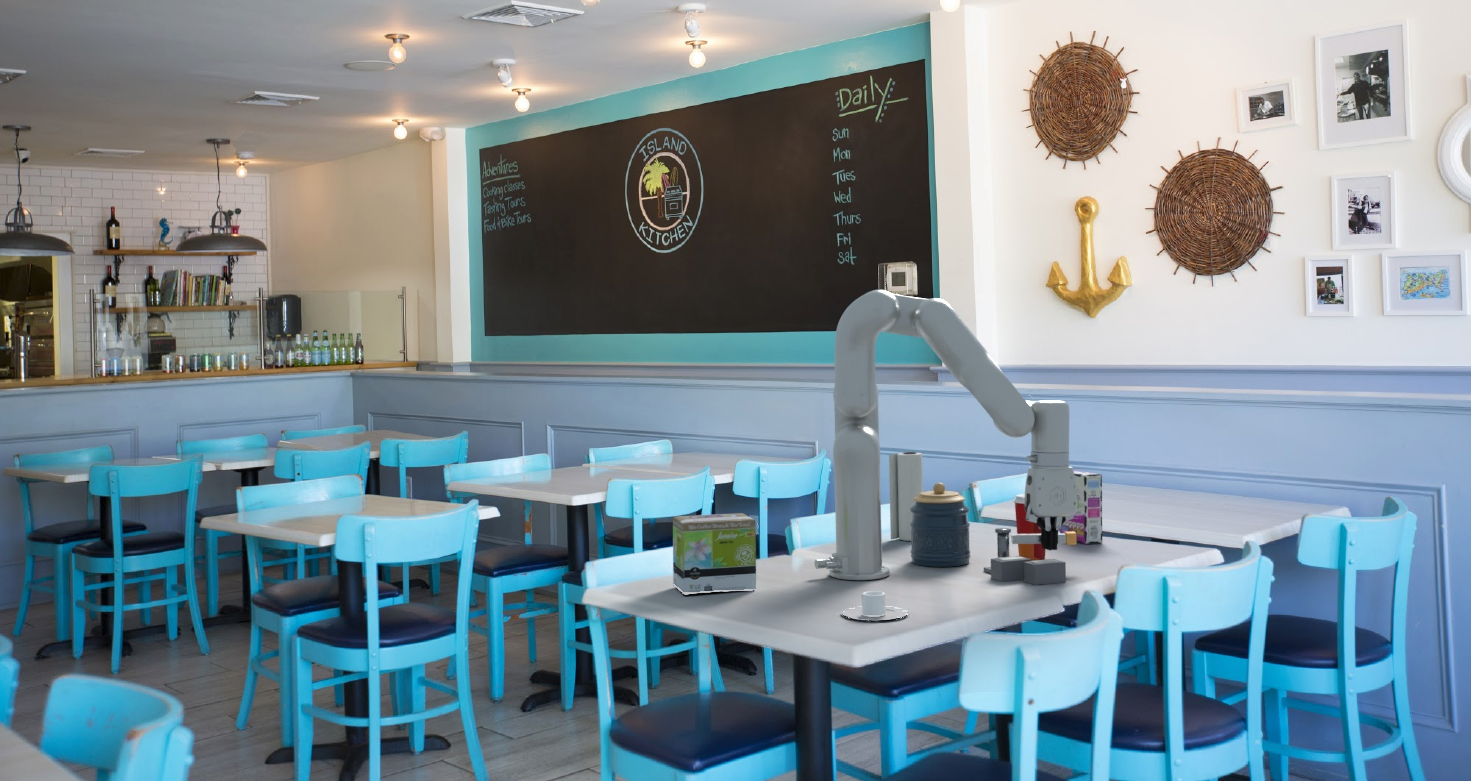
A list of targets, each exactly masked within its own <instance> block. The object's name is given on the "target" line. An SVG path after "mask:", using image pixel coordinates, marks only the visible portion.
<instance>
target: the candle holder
mask: <svg viewBox="0 0 1471 781" xmlns="http://www.w3.org/2000/svg"><path fill="white" fill-rule="evenodd" d="M853 607H854V608H852V607H849V608H847V609H855V607H856V606H853ZM857 607H862V610H861V614H862V613H863V614H864V615H882V614H885V613H886V614H887V612H886V611H887V610H886V608H885V607H894V608H895V609H903V607H902V608H901V607H897V606H890V605H886V593H885V592H884V591H879V590H870V591H863V592H862V593H861V605H860V606H857ZM842 611H843V612H845V611H844V610H842ZM902 612H909V611H908V610H906V609H905V610H903V611H902ZM843 615H844V614H843ZM843 615H842V616H843ZM905 615H907V616H909V614H908V613H906V614H905ZM896 617H897V618H900V617H898V616H896ZM847 619H850V618H849V617H848V618H847ZM900 619H903V618H902V617H901V618H900ZM867 622H870V621H869V620H868V621H867Z"/></svg>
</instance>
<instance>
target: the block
mask: <svg viewBox="0 0 1471 781" xmlns="http://www.w3.org/2000/svg"><path fill="white" fill-rule="evenodd" d="M1029 561H1031V559H1029V558H1026V557H1022V556H1019V555H1014V556H1013V555H1012V556H1009V557H1001V558H998V557H995V558H990V567H991V573H990V579H992V580H995V581H999V582H1001V583H1002V582H1003V583H1005V582H1011V581H1012V582H1013V581H1021V580H1022V581H1023V580H1024V562H1029Z"/></svg>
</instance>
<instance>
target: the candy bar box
mask: <svg viewBox="0 0 1471 781" xmlns="http://www.w3.org/2000/svg"><path fill="white" fill-rule="evenodd" d="M1073 471H1074V476H1075V481H1076V491H1077V512H1076V513H1075V514H1073V515H1074V518H1073V519H1071V520H1068V521H1065V522H1064V523H1063V524H1062V526H1061V529H1060V530H1059V533H1064V532H1070V531H1074V532H1075V533H1076V539H1077V543H1080V544H1084V545H1093V544H1095V545H1096V544H1102V543H1103V474H1099V473H1095V472H1087V471H1081V470H1073Z"/></svg>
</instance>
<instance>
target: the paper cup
mask: <svg viewBox="0 0 1471 781" xmlns="http://www.w3.org/2000/svg"><path fill="white" fill-rule="evenodd" d="M1024 499H1025V493H1018V494H1016V495H1015V497H1014V498H1013V500H1012V503H1014V509H1015V510H1014V512H1015V523H1016V524H1015V525H1016V534H1041V529H1039V526H1038V525H1037V524H1036V523H1034V522H1030V521H1027V520H1026V514H1027V513H1026V512H1025V505H1024ZM1035 516H1036V517H1037V515H1035ZM1017 549H1018V556H1022V557H1026V558H1029V559H1031V561H1036V560H1046V550H1047V549H1044V548H1042V544H1017Z"/></svg>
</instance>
